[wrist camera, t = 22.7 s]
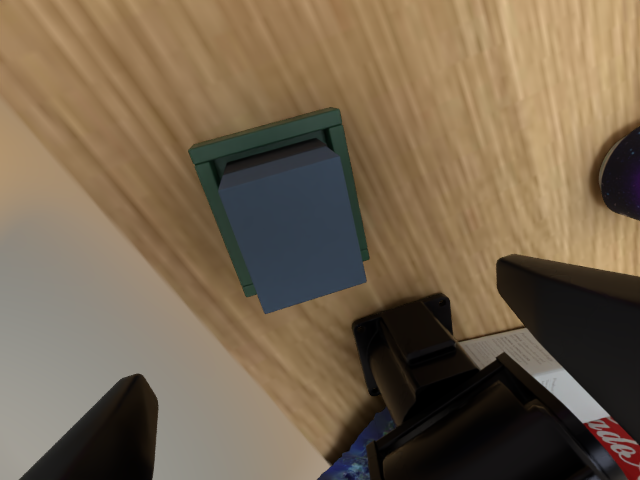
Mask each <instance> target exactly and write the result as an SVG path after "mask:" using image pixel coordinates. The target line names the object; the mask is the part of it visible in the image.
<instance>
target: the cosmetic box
mask: <svg viewBox="0 0 640 480" xmlns="http://www.w3.org/2000/svg"><path fill="white" fill-rule="evenodd" d="M458 343H459V344H460V345H461V346H462V348H463V349H464V350H465V351H466V352H467V354H468V355H469V356H470V357H471V358H472V360H473V361H474V362H475V363H476V364H477V366H478V367H479V368H480V369H483V368H484V367H486V366H487V365H489V364H490V363H492V362H493V361H495V360H496V358H495V357H497V356H498V355H500V354H501V353H503V352H505V353H506V354H508V355H509V356H510V357H511V358H512V359H513V360H514V361H516V362H517V363H518V364H519V365H520V366H521V367H522V368H524V369H525V370H526V371H527V372H528V373H529V374H530V375H532V376H533V377H534V378H535V379H536V380H537V381H538V382H540V383H541V384H542V385H543V386H544V387H545V388H546V389H548V390H549V391H550V392H551V393H552V394H553V395H554V396H556V397H557V398H558V399H559V400H560V401H561V402H562V403H563V404H564V405H565V406H566V407H567V408H568V409H569V410H570V411H571V412H572V413H573V414H574V415H575V416H576V417H577V418H578V419H579V420H580V421H581V422H582V423H586V422H590V421H593V420H597V419H601V418H605V417H609V416H610V415H609V414H608V413H607V412H606V411H605V410H604V409H603V408H602V407H601V406H600V405H599V404H598V403H597V402H596V401H595V400H594V399H593V398H592V397H591V396H590V395H589V394H588V393H587V392H586V391H585V390H584V389H583V388H582V387H581V386H580V385H579V384H578V383H577V381H576V380H575V379H574V378H573V377H572V376H571V375H570V374H569V373H568V372H567V371H566V370H565V369H564V368H563V367H562V366H561V365H560V364H559V363H558V362H557V361H556V360H555V359H554V358H553V357H552V356H551V355H550V354H549V353H548V352H547V351H546V350H545V349H544V348H543V347H542V346H541V344H540V343H539V342H538V341H537V340H536V339H535V338H534V336H533V335H532V334H531V333H530V332H529V330H528V329H527V328H522V329H517V330H512V331H508V332H504V333H499V334H494V335H489V336H485V337H480V338H476V339H471V340H467V341H462V342H458Z"/></svg>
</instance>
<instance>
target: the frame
mask: <svg viewBox="0 0 640 480" xmlns="http://www.w3.org/2000/svg"><path fill="white" fill-rule="evenodd" d="M313 138H317V139H319V140H320V141H322V142H323V143H325V144H326V145H327V148H329V149H330V150H332V151H333V152H335V153H336V154H337V155H339V156H340V159H341V163H342V168H343V173H344V177H345V182H346V187H347V191H348V196H349V201H350V205H351V210H352V215H353V219H354V224H355V229H356V233H357V238H358V243H359V247H360V252H361V257H362V261H366V260H369V253H368V249H367V242H366V237H365V233H364V228H363V223H362V218H361V213H360V208H359V203H358V198H357V193H356V188H355V183H354V178H353V173H352V168H351V163H350V158H349V153H348V148H347V143H346V138H345V133H344V128H343V125H342V119H341V114H340V110H339V109H337V108H333V107H329V108H326V109H322V110H318V111H315V112H311V113H307V114H304V115H300V116H296V117H293V118H289V119H285V120H282V121H278V122H274V123H271V124H267V125H263V126H260V127H256V128H252V129H249V130H245V131H241V132H238V133H234V134H230V135H227V136H223V137H219V138H216V139H212V140H208V141H205V142H201V143H197V144H194V145H193V146H192V147H191V148H190V149H189V150H188V152H189V154H190V157H191V159H192V162H193V164H194V165H195V170H196V172H197V175H198V177H199V180H200V182H201V185H202V187H203V190H204V192H205V195H206V197H207V200H208V202H209V205H210V207H211V210H212V212H213V215H214V217H215V220H216V222H217V225H218V228H219V230H220V233H221V235H222V238H223V240H224V243H225V245H226V248H227V250H228V253H229V255H230V258H231V260H232V263H233V265H234V268H235V270H236V273H237V275H238V278H239V281H240V283H241V285H242V288H243V291H244V293H245V296H246V297H250V296H253V295H256V294H257V292H256V290H255V287H254V285H253V282H252V279H251V277H250V274H249V271H248V269H247V266H246V264H245V261H244V258H243V256H242V253H241V250H240V248H239V245H238V243H237V240H236V237H235V235H234V232H233V229H232V227H231V224H230V222H229V219H228V216H227V214H226V211H225V208H224V206H223V203H222V201H221V198H220V195H219V193H218V189H219V186H220V183H221V180H222V176H223V175H224V171H225V167H226V164H227V162H230V161H234V160H238V159H241V158H245V157H248V156H252V155H255V154H259V153H263V152H266V151H270V150H273V149H277V148H280V147H284V146H288V145H291V144H295V143H298V142H302V141H305V140H309V139H313Z"/></svg>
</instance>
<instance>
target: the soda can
mask: <svg viewBox="0 0 640 480" xmlns="http://www.w3.org/2000/svg"><path fill="white" fill-rule="evenodd" d="M583 424H584V425H585V426H586V427H587V429H588V430H589V431H590V432H591V433H592V434H593V435H594V436H595V437H596V439H597V440H598V441H599V442H600V443H601V444H602V446H603V447H604V448H605V449H606V450H607V451H608V453H609V454H610V455H611V456H612V458H613V459H614V460H615V461H616V463H617V464H618V465H619V467H620V468H621V469H622V471H623V472H624V474H625V475H626V477H627V479H628V480H640V446H639V445H638V444H637V443H636V442H635V441H634V440H633V439H632V438H631V437H630V436H629V435H628V434H627V433H626V431H625V430H624V429H623V428H622V427H621V426H620V425H619V424H618V423H617V422H616V421H615V420H614V419H613V418H612V417H611V416H609V417H605V418H601V419H597V420H593V421H590V422H586V423H583Z"/></svg>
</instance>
